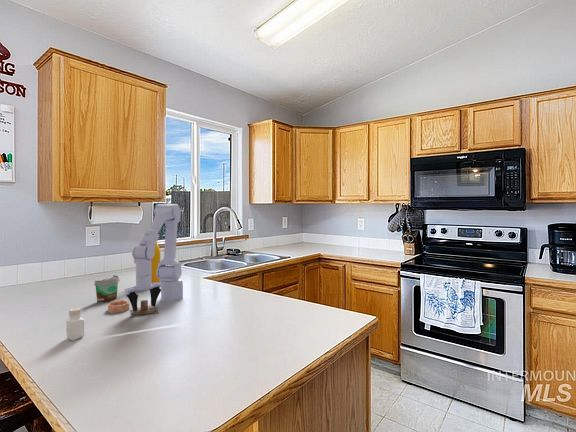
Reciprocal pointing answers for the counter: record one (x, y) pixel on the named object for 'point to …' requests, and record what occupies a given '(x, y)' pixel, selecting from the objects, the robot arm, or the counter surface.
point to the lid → (144, 309)
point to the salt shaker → (75, 324)
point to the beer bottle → (155, 264)
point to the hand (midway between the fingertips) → (144, 308)
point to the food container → (107, 289)
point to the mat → (143, 315)
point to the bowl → (118, 306)
